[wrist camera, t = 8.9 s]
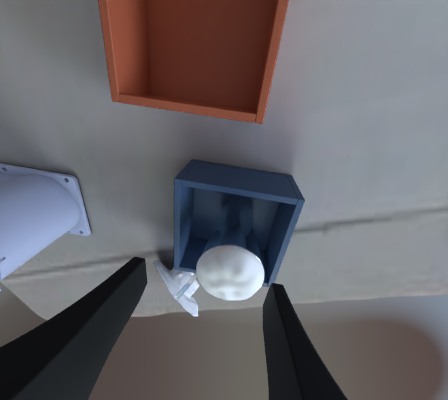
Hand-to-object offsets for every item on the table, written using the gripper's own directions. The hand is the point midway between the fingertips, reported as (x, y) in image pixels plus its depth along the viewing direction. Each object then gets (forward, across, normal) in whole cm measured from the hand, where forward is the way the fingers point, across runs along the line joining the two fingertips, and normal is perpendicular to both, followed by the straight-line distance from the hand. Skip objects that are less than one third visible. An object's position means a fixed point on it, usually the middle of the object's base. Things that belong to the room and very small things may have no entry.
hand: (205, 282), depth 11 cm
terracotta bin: (+10, +3, -13) cm, 17 cm away
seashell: (+10, +4, +11) cm, 16 cm away
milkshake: (+10, -1, +1) cm, 10 cm away
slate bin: (+10, -1, +1) cm, 10 cm away
